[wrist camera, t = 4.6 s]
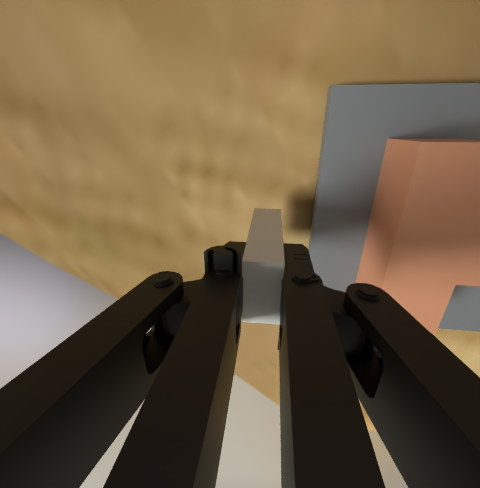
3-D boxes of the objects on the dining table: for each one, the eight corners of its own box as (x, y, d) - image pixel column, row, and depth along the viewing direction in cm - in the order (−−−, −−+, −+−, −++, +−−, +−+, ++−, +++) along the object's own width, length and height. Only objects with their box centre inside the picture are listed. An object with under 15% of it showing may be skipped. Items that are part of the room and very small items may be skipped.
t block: (353, 292, 18) (370, 328, 15) (387, 138, 14) (421, 141, 11) (503, 303, 17) (555, 343, 14) (589, 139, 13) (692, 144, 10)
